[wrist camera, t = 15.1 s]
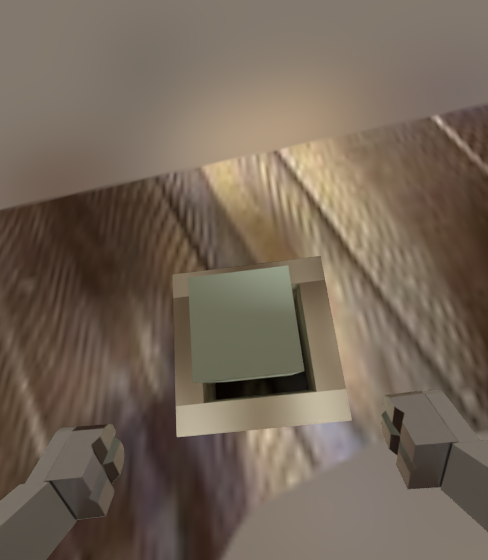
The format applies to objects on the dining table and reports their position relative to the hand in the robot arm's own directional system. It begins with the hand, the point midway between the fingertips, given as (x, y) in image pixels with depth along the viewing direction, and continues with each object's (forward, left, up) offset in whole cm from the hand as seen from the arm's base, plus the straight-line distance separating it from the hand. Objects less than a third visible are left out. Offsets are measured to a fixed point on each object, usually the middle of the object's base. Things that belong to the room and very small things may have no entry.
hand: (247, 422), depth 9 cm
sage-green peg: (0, +3, -11) cm, 12 cm away
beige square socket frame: (0, +3, -11) cm, 12 cm away
